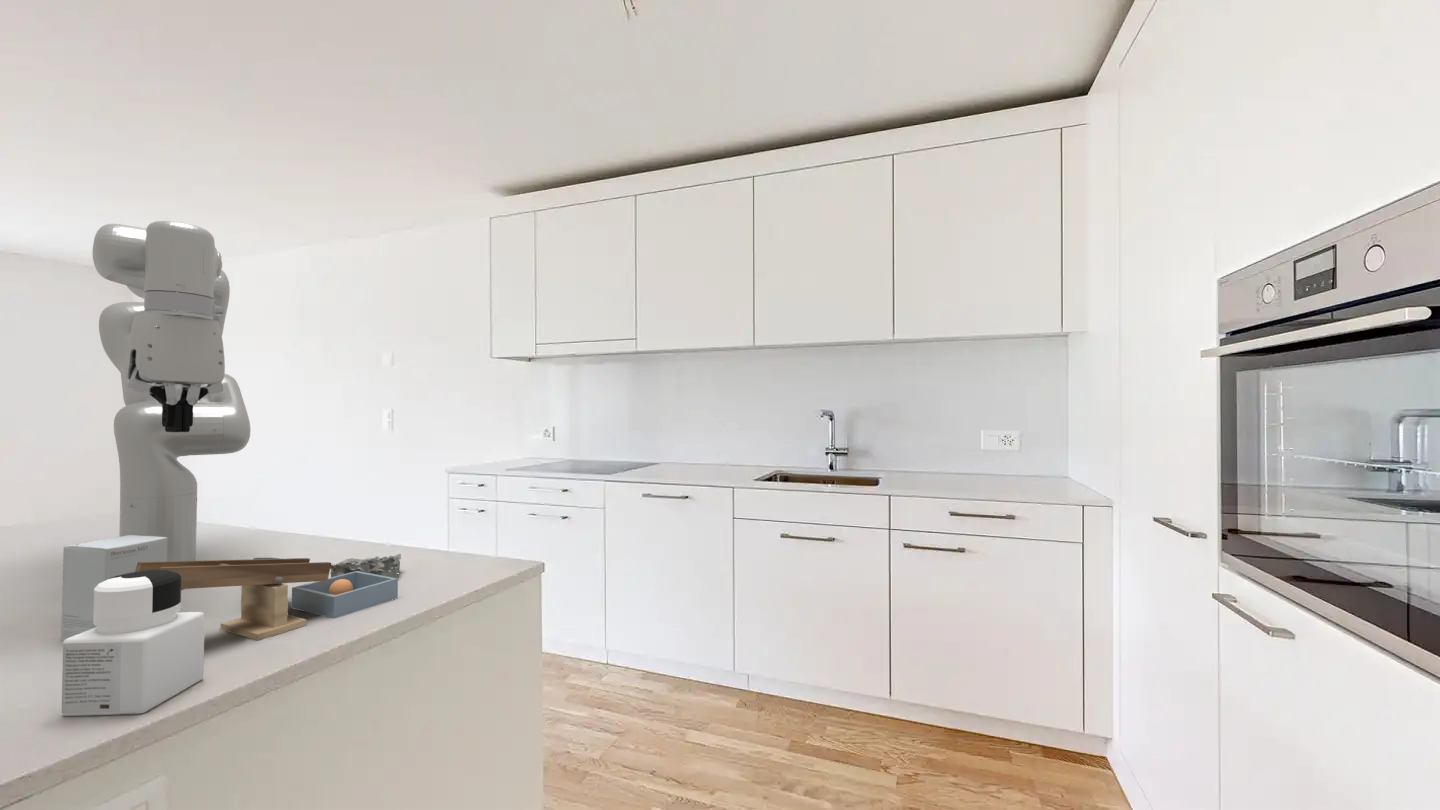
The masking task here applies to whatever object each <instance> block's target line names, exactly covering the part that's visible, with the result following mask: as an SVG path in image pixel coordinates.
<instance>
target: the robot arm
mask: <svg viewBox="0 0 1440 810" xmlns="http://www.w3.org/2000/svg"><path fill="white" fill-rule="evenodd" d="M92 243H93V245H92V251H91V252H92V253H91V254H92V261H93V265H94V267H95V270H96V272H97V273H98V275H100V276H101V278H103V279H105V280H108V281H110V282H114V283H117V284H121V285H124V286H127V289H128V290H130V291H131V292H132V293H133V294H135V296H137V297H139V298H141V299H143V300H144V302H143V301H125V302H124V301H123V302H116V303H112V304H110V305H108V306H105V308H104V309H102V310H101V313H100V315H99V319H98V331H99V337H100V342H101V344H102V345H101V346H102V348H103V350H104V353H105V354H106V356H107V357H108V359H109V360H110V362H111V363H112V364H113V366H115V368H117V370H118V371H119V374H120V378H121V379H120V380H121V389H122V390H121V391H122V398H123V402H124V404H125V406H123V407H122V408H121V409H120V410H118V411H117V412H116V414H115V416H114V419H113V433H114V434H113V435H114V439H115V445H116V449H117V455H118V464H119V485H120V486H119V534H118V535H119V536H118V537H121V536H127V535H136V536H155V537H167V538H168V541H167V561H197V527H198V525H197V524H198V523H197V522H198V521H197V519H198V517H197V516H198V514H197V513H198V511H197V510H198V482H197V479H196V477H195V475H194V474H193V473H192V471H191V470H190V469H188V468H187V467H185V466H184V465H183V464H182V463H181V462H179V461H178V459H177V458H179V457H189V456H208V455H212V456H213V455H225V454H226V455H229V454H233V453H235V454H236V453H237V452H240V451H241V450H243V449H244V448H245V447H246V446H247V445H248V443H249V441H250V436H251V423H250V418H249V415H248V411H247V408H246V405H245V402H244V397H243V395H242V391H241V388H240V385H239V384H238V382H237V380H236V379H235V377H233V376H232V375H230V374H227V373H225V371H226V369H225V368H226V366H225V365H226V364H225V363H226V362H225V360H226V359H225V349H224V341H223V333H224V328H225V321H226V316H227V313H228V307H229V301H230V292H231V291H230V290H231V288H230V282H229V278H228V276H227V273H225V272H224V270H223V269H222V268H223V262H222V258H223V257H222V255H221V252H219V251H218V250H217V247H216V245H215V243H216V242H215V237H214V236H213V235H212V233H211V232H210V231H209V230H207V229H205V228H202V227H201V226H198V225H194V224H191V223H186V222H180V221H171V220H156V221H154V222H150V223H149V224H148V225H147V226H146V228H145V227H141V226H139V227H138V226H133V225H126V224H120V223H119V224H118V223H107V224H104V225H102V226H101V227H99V229H97V231H96V233H95V235H94V239H93V242H92Z"/></svg>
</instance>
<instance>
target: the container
mask: <svg viewBox="0 0 1440 810" xmlns="http://www.w3.org/2000/svg"><path fill="white" fill-rule="evenodd" d="M181 602H182V589H181V575H179V574H178V573H177V572H173V571H168V570H147V571H139V572H132V573H127V574H122V575H118V576H115V577H112V578H109V579H107V580H105V581H103V582H101V583H99V584H98V585H97V586H96V587H95V588H94V613H93V624H94V625H95V626H98V627H96V628H93V629H90V630H88V631H85V632H83V633H80V634H77V635H75V636H72V637H69V638H67V639H65V640H64V641H62V671H61V672H62V675H61V678H62V681H61V683H62V684H61V715H62V716H64V717H74V716H75V717H77V716H78V717H79V716H109V715H110V716H111V715H138V714H139V715H141V714H145V713H146V712H149V710H152V709H154V708H155V707H157V706H159V705H160V704H162V703H164V702H165V701H167V700H169V699H171V698H172V697H174V696H176V695H178V694H180V693H181V692H182V691H185V690H187V689H188V688H190V687H191V686H193V685H195V684H197V683H199V682H200V681H202V680H203V678H204V665H205V664H204V663H205V660H204V658H205V657H204V656H205V613H204V612H203V611H190V612H189V611H187V612H185V611H184V612H183V611H182V612H179V611H180V610H181V609H182V608H181V607H182V604H181Z"/></svg>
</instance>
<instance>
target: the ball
mask: <svg viewBox="0 0 1440 810" xmlns="http://www.w3.org/2000/svg"><path fill="white" fill-rule="evenodd" d="M352 590H353V585H352V583H351V582H350V581H349V580H346V579H339V580H336V581H335V582H333V583H332V584H331V586H330V588H329V594H332V595H338V594H342V593H345V592H349V591H352Z"/></svg>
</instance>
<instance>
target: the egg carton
mask: <svg viewBox="0 0 1440 810" xmlns="http://www.w3.org/2000/svg"><path fill="white" fill-rule="evenodd" d="M401 559H402V553H399V554H395V555H394V556H393V555H389V556H383V557H379V556H375V557H373V558H372V557H371V558H370V557H369V558H368V557H367V558H363V559H359V558H354V557H353V558H346V559H343V560H342V561H340V562H338V563H336V564H331V567H330V572H329V574H330V578H331V577H335V576H339V575H343V574H347V573H351V572H355V571H360V572H366V573H371V574H376V575H381V576H387V577H392V578H397V579H398V575H397V573H399V572H401V570H400V569H401V568H400V567H401V566H400V565H401V564H400V563H401ZM399 574H400V573H399Z"/></svg>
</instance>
